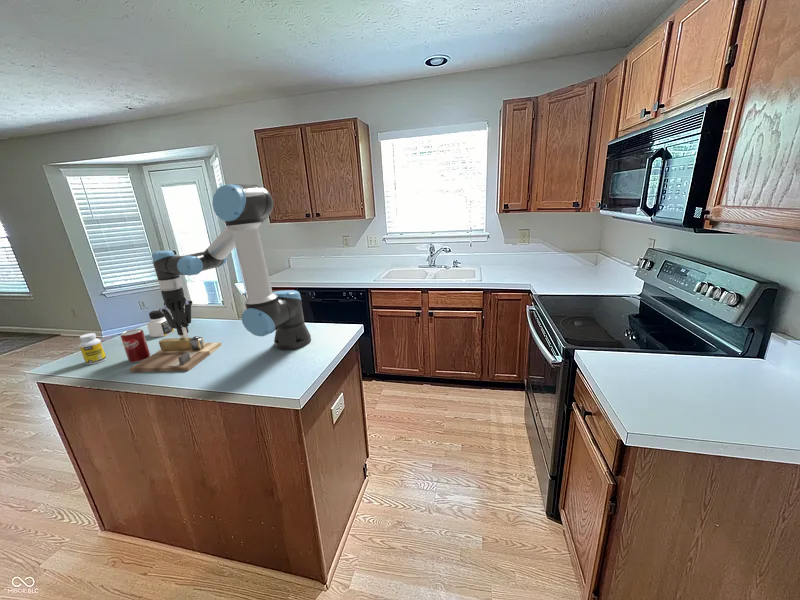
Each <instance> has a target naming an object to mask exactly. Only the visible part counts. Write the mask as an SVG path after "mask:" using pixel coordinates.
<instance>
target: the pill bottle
mask: <svg viewBox="0 0 800 600" xmlns="http://www.w3.org/2000/svg"><path fill="white" fill-rule="evenodd" d="M79 339H80V341H81V342H80V343H79V348H80V351H81V353H82V356H83V359H84V362H85V364H86V365H95V364H99V363H103V362H104V361H106V359H107V356H106V353H105V349H104V347H103V343H102V341H101V339H100V338H97V334H96V333H95V332H91V333H84V334H82V335H80V336H79Z"/></svg>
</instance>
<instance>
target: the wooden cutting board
mask: <svg viewBox="0 0 800 600" xmlns="http://www.w3.org/2000/svg"><path fill="white" fill-rule="evenodd" d="M204 345H205V346H204V347H203V348H201V349H198V350H192V349H191V350H161V349H160V350H158V351H157V352H156V353H154V354H150V357H148V358H146V359H145V360H143V361H141V362H137V364H135V365H133V366H131V367H130V368H129V371H130V373H146V372H147V373H151V372H154V373H155V372H189V371H191V370H192V369H194V367H196V366H197V365H199V363H201V362H202V361H204V360H205V359H206V358H207V357H209V356H210V355H212V354H213V353H215V351H216V350H218V349H220V348H221V347H222V346H223V345H222V342H204ZM216 352H217V351H216Z"/></svg>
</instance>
